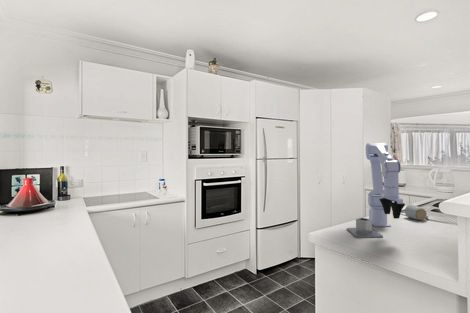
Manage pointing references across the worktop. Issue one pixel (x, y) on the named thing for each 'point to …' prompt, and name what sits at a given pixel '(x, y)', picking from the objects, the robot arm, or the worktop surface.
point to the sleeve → (364, 225)
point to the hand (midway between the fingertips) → (391, 216)
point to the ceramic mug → (415, 212)
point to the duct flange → (361, 235)
